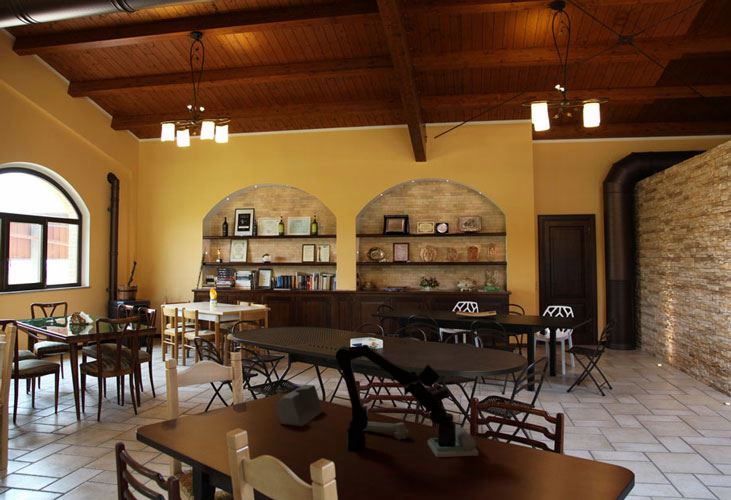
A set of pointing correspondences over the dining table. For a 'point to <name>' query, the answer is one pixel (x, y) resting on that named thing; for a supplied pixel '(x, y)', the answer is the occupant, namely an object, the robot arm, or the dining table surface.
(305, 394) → the grey faceted block
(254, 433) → the dining table surface
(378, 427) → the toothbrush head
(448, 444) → the supplement bottle
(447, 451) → the motor mount
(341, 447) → the dining table surface
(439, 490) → the dining table surface
